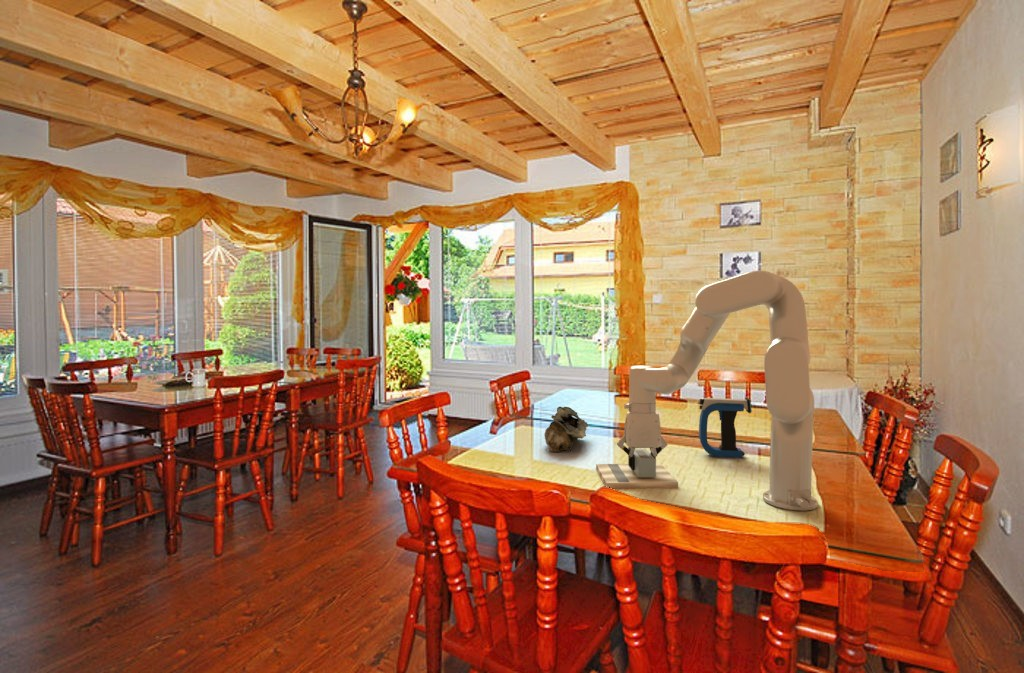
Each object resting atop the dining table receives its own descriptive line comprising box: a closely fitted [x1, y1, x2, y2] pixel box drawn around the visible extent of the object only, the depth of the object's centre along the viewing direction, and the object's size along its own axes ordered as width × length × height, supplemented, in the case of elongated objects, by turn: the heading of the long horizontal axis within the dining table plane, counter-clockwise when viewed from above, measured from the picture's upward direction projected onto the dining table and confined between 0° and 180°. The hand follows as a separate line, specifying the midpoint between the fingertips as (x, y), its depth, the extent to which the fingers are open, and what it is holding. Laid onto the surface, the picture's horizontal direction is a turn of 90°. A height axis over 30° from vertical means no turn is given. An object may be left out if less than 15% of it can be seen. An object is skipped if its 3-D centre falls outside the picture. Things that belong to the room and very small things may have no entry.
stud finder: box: [633, 448, 657, 477], centre depth 161 cm, size 12×5×5 cm, turn 0°
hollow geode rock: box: [544, 406, 589, 453], centre depth 200 cm, size 28×13×15 cm
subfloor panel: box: [595, 462, 679, 489], centre depth 161 cm, size 18×20×2 cm
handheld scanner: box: [698, 397, 753, 459], centre depth 182 cm, size 5×16×20 cm, turn 78°
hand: (642, 468), depth 161 cm, fingers closed on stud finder, 5 cm apart
